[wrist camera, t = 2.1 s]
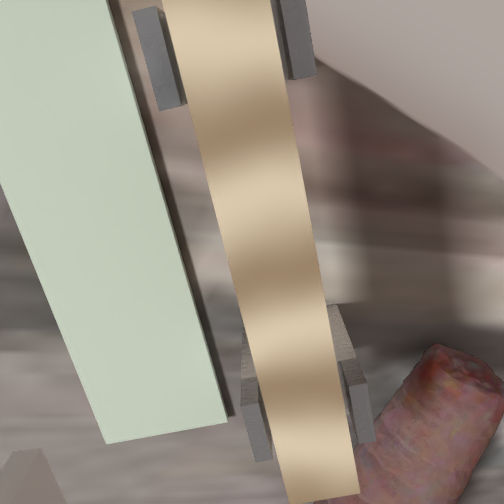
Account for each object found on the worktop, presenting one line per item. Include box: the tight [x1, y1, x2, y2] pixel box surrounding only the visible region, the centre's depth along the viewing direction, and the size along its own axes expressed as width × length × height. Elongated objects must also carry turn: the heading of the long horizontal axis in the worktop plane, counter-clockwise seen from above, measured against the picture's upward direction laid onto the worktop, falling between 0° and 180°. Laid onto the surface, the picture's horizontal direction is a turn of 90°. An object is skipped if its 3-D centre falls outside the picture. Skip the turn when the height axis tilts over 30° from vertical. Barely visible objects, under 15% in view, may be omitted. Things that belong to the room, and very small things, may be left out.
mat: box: [0, 0, 228, 444], centre depth 33 cm, size 32×10×1 cm, turn 12°
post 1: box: [132, 0, 317, 111], centre depth 24 cm, size 4×7×10 cm, turn 102°
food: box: [314, 343, 504, 504], centre depth 35 cm, size 21×9×9 cm, turn 160°
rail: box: [162, 0, 360, 504], centre depth 24 cm, size 28×4×4 cm, turn 12°
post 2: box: [241, 304, 376, 462], centre depth 31 cm, size 4×7×10 cm, turn 102°
